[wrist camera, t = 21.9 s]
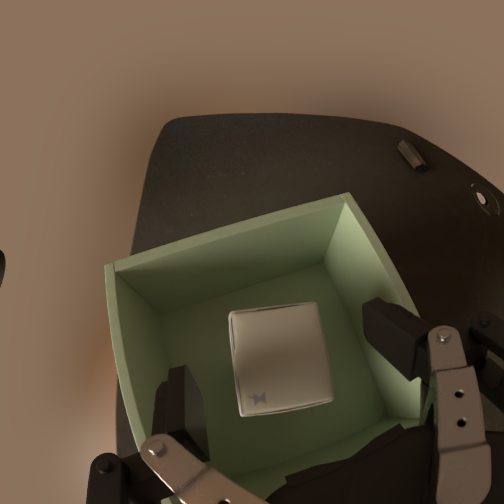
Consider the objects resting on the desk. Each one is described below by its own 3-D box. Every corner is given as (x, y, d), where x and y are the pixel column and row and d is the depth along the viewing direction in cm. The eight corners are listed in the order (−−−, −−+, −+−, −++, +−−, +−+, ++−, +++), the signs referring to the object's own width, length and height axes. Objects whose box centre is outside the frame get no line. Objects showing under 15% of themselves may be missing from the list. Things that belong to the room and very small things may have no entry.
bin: (206, 485, 16) (173, 532, 8) (153, 310, 25) (104, 264, 16) (393, 417, 18) (458, 421, 10) (324, 256, 27) (349, 191, 18)
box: (302, 400, 19) (338, 407, 10) (249, 407, 19) (238, 423, 10) (293, 341, 22) (318, 297, 12) (242, 347, 22) (226, 309, 12)
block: (412, 173, 33) (416, 164, 31) (393, 146, 36) (397, 137, 34) (429, 173, 33) (433, 165, 31) (410, 147, 36) (414, 138, 34)
